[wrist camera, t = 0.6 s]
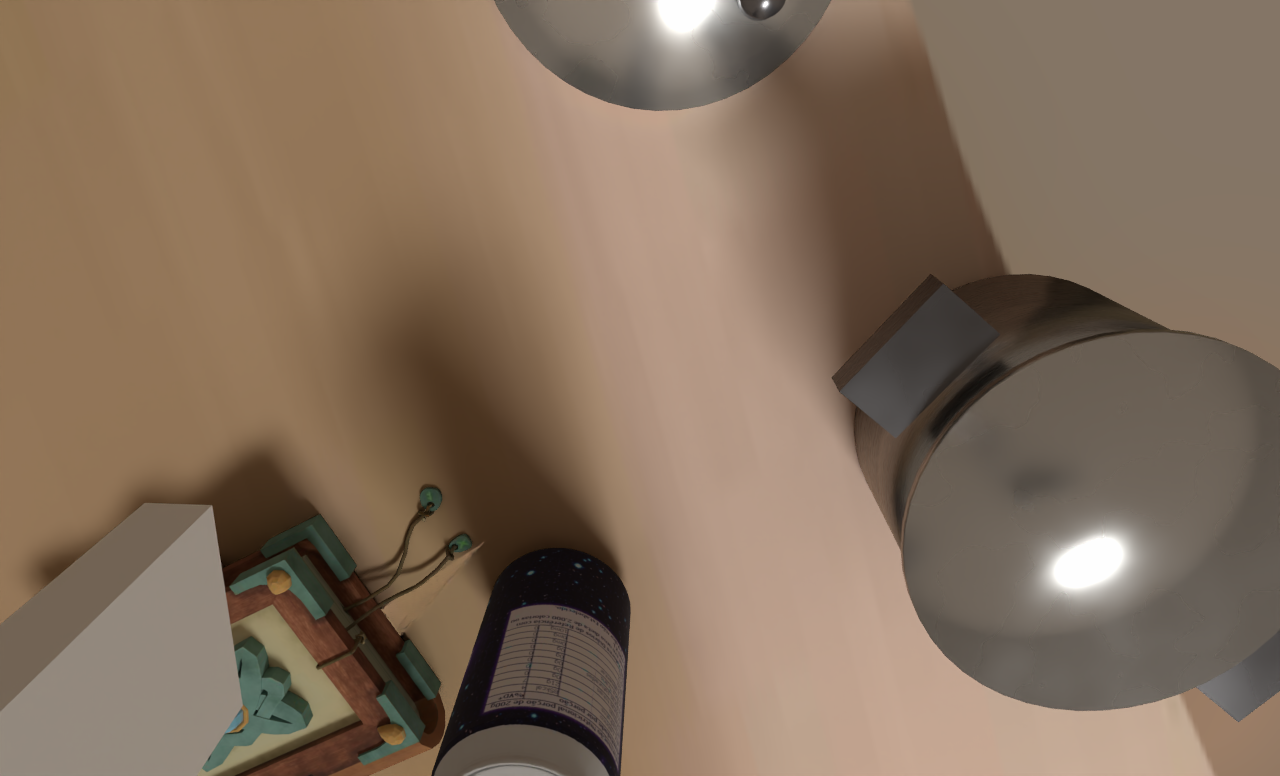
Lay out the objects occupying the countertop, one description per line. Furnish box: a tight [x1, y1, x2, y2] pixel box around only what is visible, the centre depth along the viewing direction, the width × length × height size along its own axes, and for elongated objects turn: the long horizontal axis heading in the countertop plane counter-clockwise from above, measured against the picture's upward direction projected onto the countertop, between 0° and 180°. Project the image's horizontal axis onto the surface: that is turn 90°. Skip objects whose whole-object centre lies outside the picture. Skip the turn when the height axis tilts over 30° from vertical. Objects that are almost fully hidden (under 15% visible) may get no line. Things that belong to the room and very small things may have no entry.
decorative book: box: [197, 487, 472, 776], centre depth 36 cm, size 13×18×5 cm
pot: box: [832, 274, 1280, 722], centre depth 29 cm, size 12×17×9 cm
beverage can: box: [432, 548, 630, 776], centre depth 31 cm, size 6×6×12 cm
